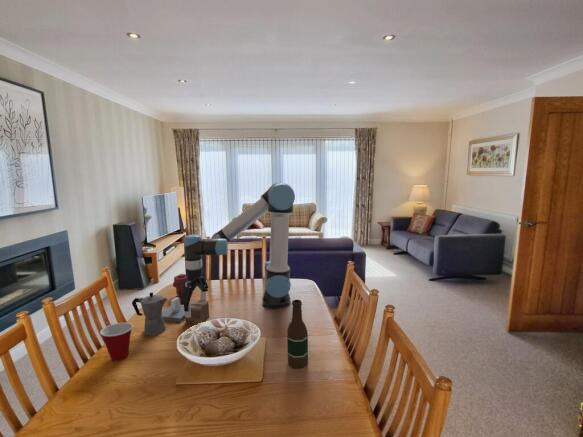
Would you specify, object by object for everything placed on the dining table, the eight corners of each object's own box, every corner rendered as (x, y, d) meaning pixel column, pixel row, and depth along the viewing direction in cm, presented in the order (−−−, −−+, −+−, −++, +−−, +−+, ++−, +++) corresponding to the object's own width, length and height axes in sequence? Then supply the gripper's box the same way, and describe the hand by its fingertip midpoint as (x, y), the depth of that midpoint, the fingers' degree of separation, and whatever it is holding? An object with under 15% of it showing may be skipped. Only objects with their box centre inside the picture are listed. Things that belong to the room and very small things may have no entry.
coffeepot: (173, 324, 135) (170, 288, 133) (165, 335, 126) (162, 296, 123) (140, 325, 135) (136, 289, 132) (129, 336, 125) (125, 297, 123)
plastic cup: (142, 351, 115) (139, 322, 113) (118, 368, 105) (114, 337, 103) (122, 346, 119) (118, 318, 117) (96, 362, 109) (92, 332, 107)
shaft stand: (194, 310, 149) (193, 295, 147) (180, 322, 137) (179, 305, 136) (172, 308, 152) (171, 293, 150) (157, 319, 140) (155, 303, 139)
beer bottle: (293, 372, 102) (292, 307, 98) (283, 359, 108) (282, 299, 105) (312, 365, 105) (311, 302, 101) (301, 353, 112) (301, 294, 108)
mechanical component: (194, 291, 173) (188, 298, 163) (178, 291, 173) (170, 299, 163) (193, 272, 171) (186, 278, 161) (176, 272, 171) (169, 278, 161)
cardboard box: (194, 314, 144) (193, 299, 143) (209, 316, 142) (208, 300, 141) (185, 322, 137) (184, 306, 135) (200, 324, 135) (199, 308, 133)
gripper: (200, 259, 148) (202, 298, 152) (169, 276, 124) (173, 322, 128) (214, 260, 147) (215, 300, 150) (185, 277, 123) (188, 324, 126)
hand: (196, 310), depth 139 cm, fingers open, 13 cm apart
